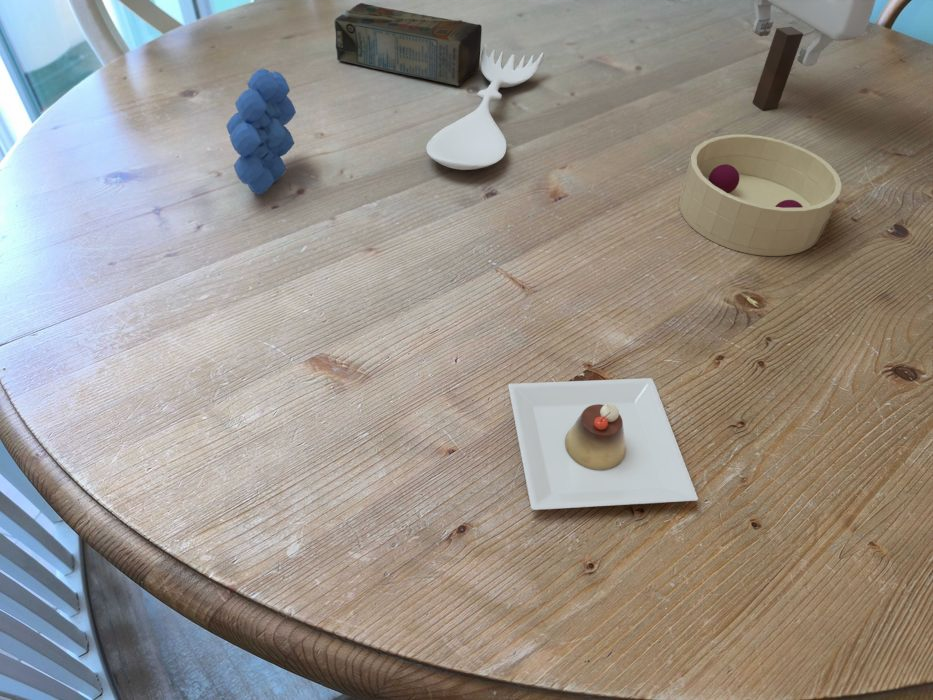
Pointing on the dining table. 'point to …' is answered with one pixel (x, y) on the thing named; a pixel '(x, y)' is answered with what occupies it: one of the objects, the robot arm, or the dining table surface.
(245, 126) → the grapes
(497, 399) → the dining table surface
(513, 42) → the dining table surface
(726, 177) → the berry
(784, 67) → the stick
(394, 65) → the beverage carton
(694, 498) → the dessert
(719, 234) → the bowl
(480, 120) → the spoon
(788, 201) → the berry
